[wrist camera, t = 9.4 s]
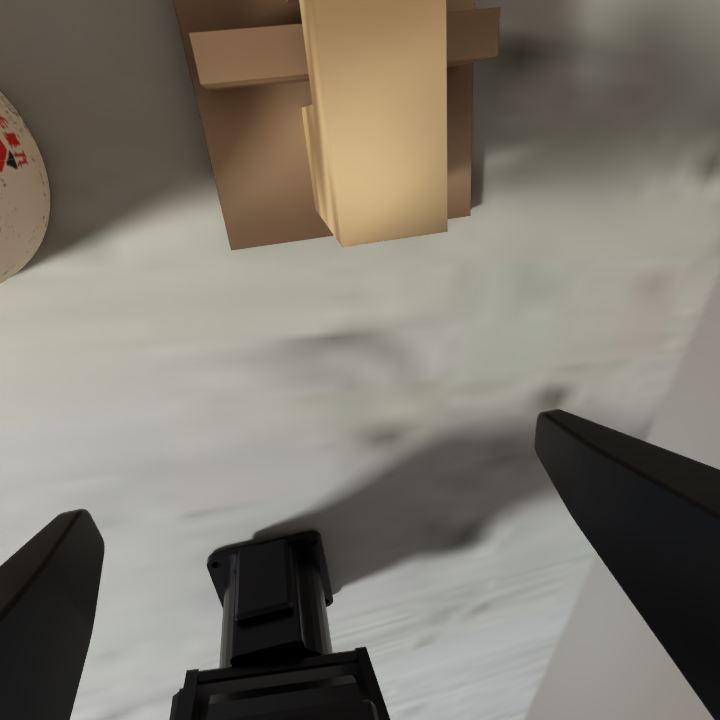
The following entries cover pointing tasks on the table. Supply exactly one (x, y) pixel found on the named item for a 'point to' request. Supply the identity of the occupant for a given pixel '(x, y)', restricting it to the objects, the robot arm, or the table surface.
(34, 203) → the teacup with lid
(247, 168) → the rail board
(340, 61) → the tan notched block
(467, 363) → the table surface
